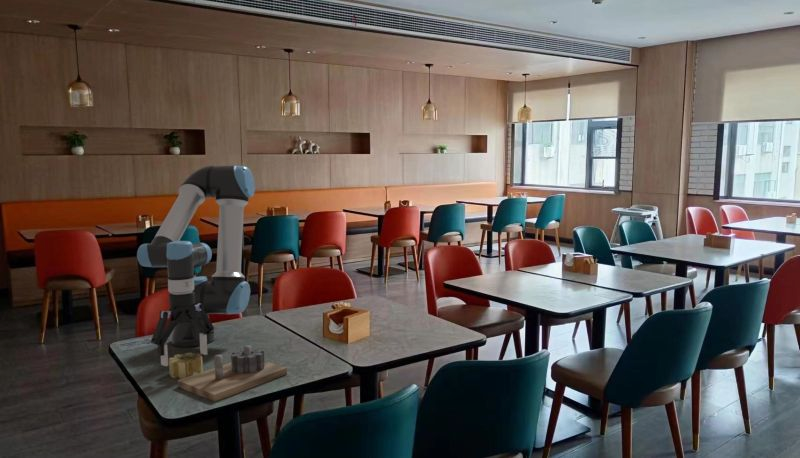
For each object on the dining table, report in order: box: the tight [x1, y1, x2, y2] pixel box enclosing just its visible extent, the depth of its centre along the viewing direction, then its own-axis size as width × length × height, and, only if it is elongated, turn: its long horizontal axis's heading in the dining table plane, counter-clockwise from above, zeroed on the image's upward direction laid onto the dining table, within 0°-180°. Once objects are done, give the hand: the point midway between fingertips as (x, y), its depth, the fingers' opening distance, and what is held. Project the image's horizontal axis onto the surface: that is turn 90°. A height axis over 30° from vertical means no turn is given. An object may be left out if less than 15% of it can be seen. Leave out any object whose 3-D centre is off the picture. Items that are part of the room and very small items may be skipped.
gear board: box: [177, 344, 288, 403], centre depth 180 cm, size 18×26×9 cm
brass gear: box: [168, 352, 204, 380], centre depth 187 cm, size 10×10×5 cm
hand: (184, 359), depth 186 cm, fingers open, 13 cm apart
